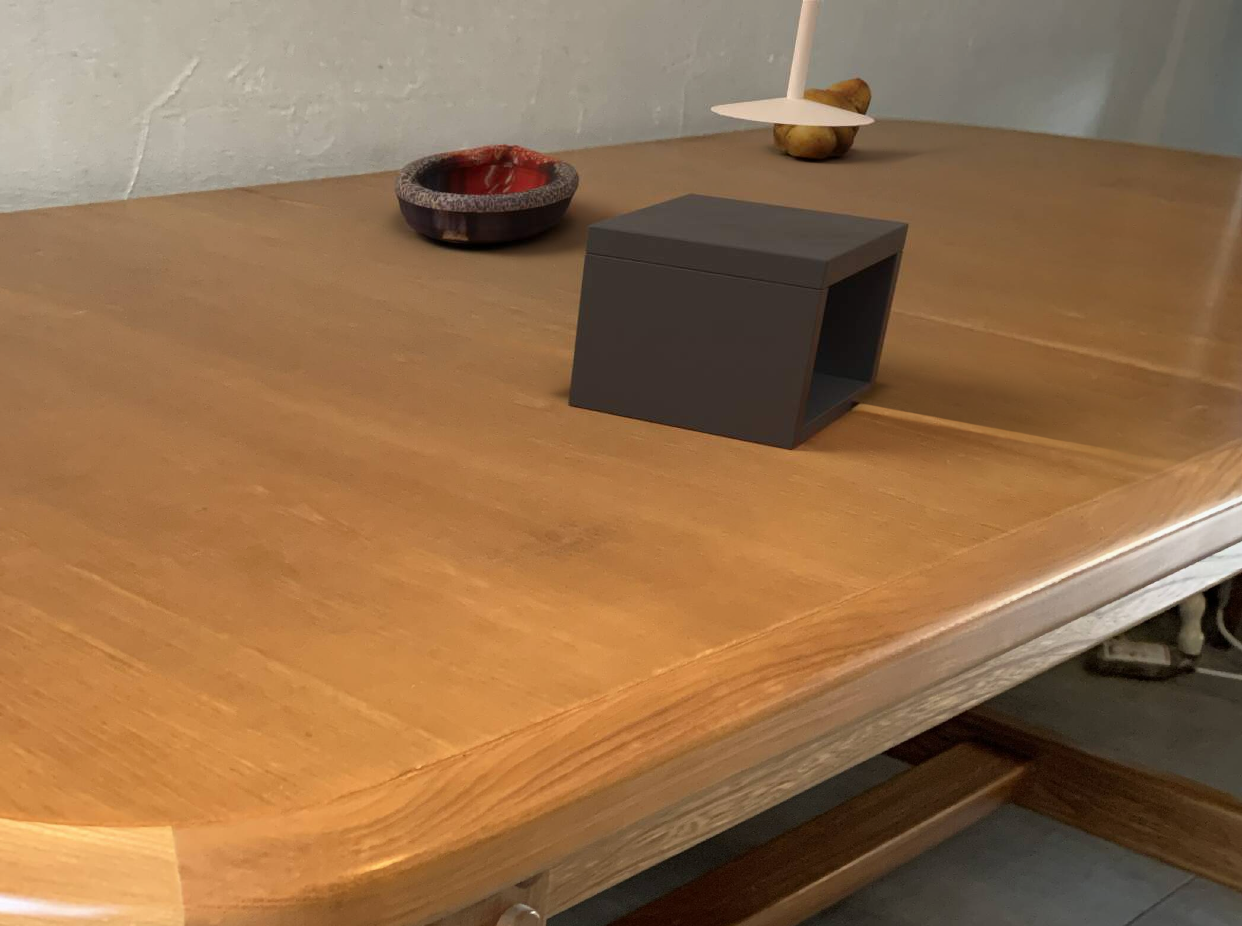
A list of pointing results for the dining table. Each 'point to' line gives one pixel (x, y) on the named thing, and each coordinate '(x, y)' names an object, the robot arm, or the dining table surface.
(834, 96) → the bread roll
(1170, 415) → the dining table surface
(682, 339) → the shelf
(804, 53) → the wineglass
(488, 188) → the dish
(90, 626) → the dining table surface
